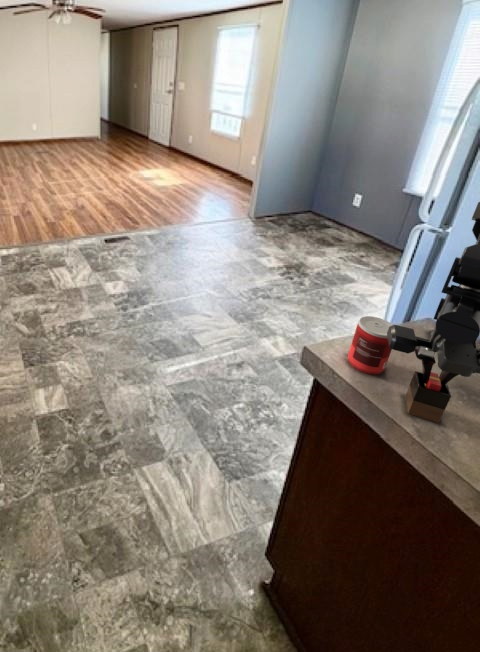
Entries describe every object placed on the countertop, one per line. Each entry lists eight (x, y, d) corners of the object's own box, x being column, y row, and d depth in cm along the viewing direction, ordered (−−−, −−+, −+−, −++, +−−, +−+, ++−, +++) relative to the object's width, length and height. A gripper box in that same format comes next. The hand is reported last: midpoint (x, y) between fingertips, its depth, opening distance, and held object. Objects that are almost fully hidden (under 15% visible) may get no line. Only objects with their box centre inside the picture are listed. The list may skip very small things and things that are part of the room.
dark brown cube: (404, 397, 91) (409, 384, 89) (434, 406, 88) (439, 393, 87) (407, 413, 86) (413, 400, 85) (438, 423, 84) (444, 410, 83)
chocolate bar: (422, 380, 87) (426, 370, 86) (434, 383, 86) (438, 373, 85) (426, 392, 84) (430, 382, 83) (437, 395, 83) (442, 386, 82)
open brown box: (409, 384, 89) (414, 371, 88) (439, 393, 87) (445, 379, 86) (413, 400, 85) (418, 386, 84) (444, 410, 83) (451, 395, 81)
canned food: (373, 354, 104) (386, 316, 99) (391, 376, 96) (405, 337, 92) (341, 352, 104) (352, 314, 100) (356, 374, 97) (369, 334, 93)
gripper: (405, 326, 76) (380, 393, 82) (543, 359, 68) (504, 430, 74) (398, 298, 85) (376, 360, 91) (519, 324, 77) (486, 390, 83)
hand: (431, 384), depth 85 cm, fingers closed on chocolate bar, 2 cm apart
